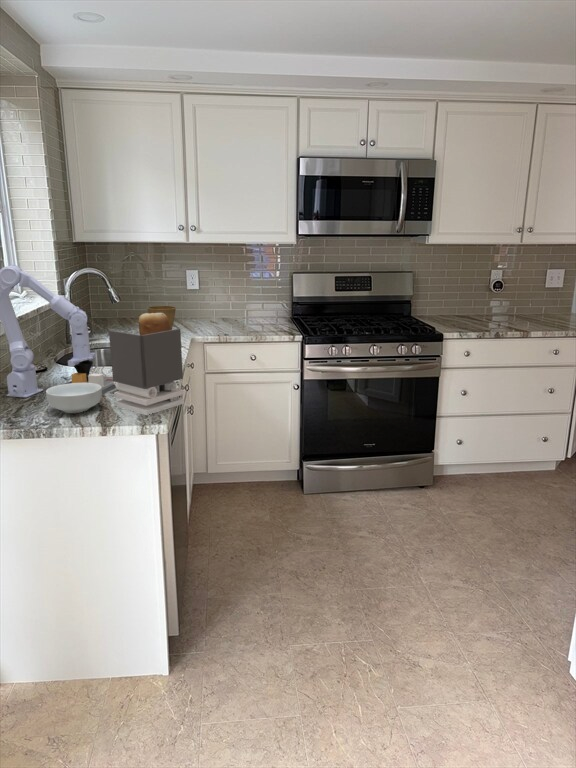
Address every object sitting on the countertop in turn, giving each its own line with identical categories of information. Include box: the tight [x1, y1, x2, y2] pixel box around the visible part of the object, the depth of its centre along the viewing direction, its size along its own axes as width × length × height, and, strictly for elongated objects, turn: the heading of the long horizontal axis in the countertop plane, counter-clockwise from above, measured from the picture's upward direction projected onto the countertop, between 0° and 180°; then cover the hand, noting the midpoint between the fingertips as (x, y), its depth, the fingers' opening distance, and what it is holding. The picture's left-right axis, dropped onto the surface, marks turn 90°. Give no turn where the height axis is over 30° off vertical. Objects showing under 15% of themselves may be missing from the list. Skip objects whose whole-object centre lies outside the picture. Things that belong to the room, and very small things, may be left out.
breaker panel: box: [87, 373, 116, 395], centre depth 206 cm, size 21×16×6 cm
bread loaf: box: [138, 312, 170, 335], centre depth 221 cm, size 14×13×25 cm
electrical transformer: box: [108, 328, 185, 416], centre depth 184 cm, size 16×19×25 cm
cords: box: [65, 380, 119, 395], centre depth 210 cm, size 19×22×1 cm
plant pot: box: [146, 305, 176, 330], centre depth 304 cm, size 15×15×16 cm
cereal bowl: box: [45, 383, 103, 414], centre depth 180 cm, size 17×17×7 cm
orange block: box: [70, 372, 87, 383], centre depth 201 cm, size 3×4×4 cm
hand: (84, 381), depth 204 cm, fingers closed
